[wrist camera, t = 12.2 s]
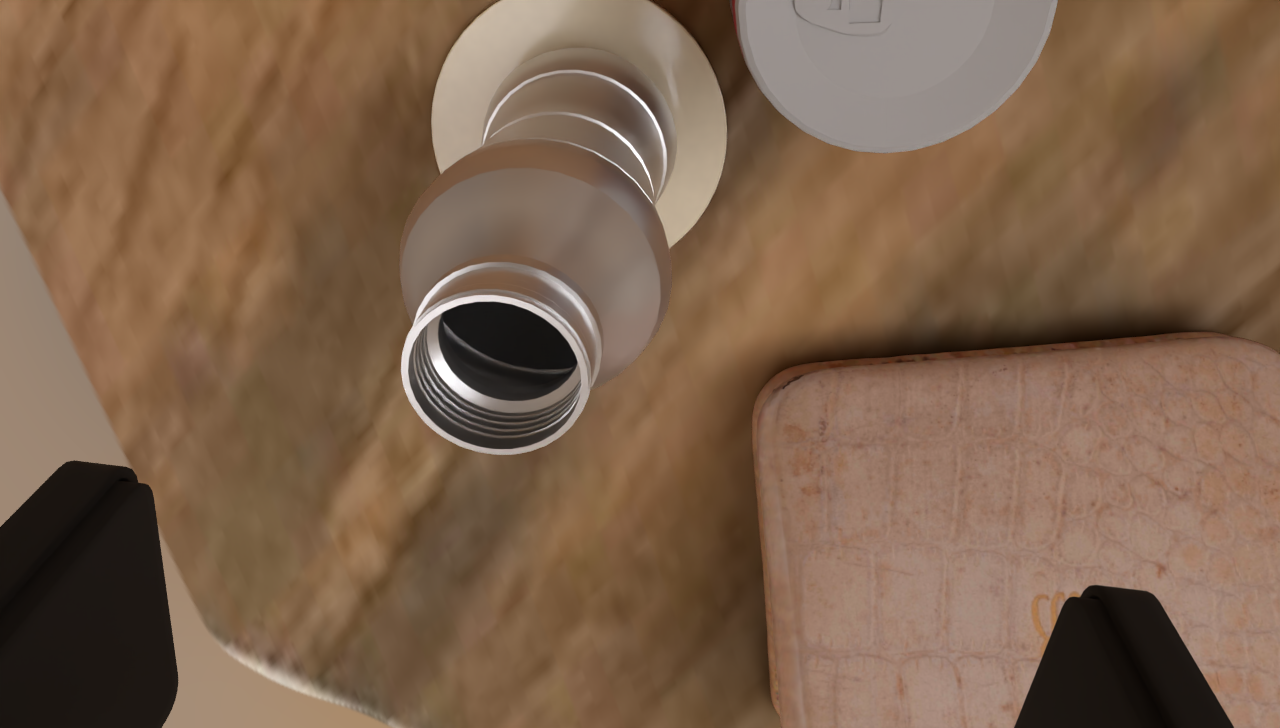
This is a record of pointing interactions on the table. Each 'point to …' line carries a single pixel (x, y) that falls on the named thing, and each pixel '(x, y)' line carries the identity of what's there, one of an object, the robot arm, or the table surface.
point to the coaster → (605, 20)
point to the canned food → (890, 64)
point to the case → (1013, 520)
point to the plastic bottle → (539, 254)
